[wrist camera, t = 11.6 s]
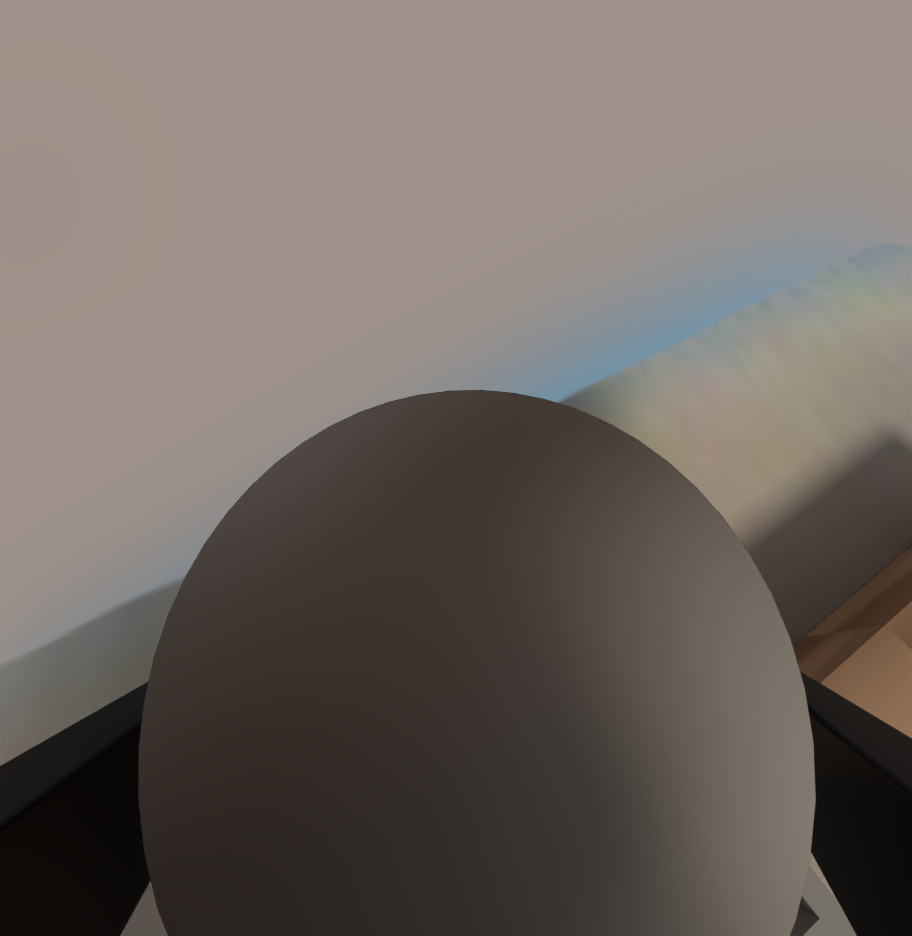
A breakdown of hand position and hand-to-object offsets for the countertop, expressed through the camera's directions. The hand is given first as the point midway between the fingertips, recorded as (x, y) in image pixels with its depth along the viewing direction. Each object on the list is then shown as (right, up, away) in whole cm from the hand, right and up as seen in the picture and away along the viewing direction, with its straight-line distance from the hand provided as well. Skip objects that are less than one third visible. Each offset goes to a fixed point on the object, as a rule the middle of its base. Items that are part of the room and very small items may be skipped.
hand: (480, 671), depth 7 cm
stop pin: (+1, -4, +7) cm, 8 cm away
